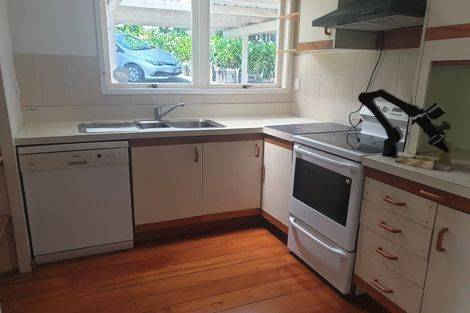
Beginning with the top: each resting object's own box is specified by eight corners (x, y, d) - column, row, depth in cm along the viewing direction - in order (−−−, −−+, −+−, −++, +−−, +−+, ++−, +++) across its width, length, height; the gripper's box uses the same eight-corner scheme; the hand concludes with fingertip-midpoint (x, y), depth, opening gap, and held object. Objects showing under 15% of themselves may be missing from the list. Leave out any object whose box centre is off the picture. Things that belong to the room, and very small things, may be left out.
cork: (437, 161, 173) (441, 140, 170) (451, 163, 169) (455, 141, 166) (435, 163, 168) (439, 141, 165) (449, 166, 164) (453, 143, 162)
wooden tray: (393, 162, 168) (394, 156, 167) (400, 158, 176) (401, 153, 175) (447, 172, 154) (448, 165, 153) (451, 167, 162) (452, 161, 161)
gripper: (439, 117, 158) (464, 144, 154) (444, 114, 173) (466, 138, 169) (418, 132, 164) (441, 158, 161) (424, 127, 179) (445, 151, 175)
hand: (449, 151), depth 166 cm, fingers open, 5 cm apart
